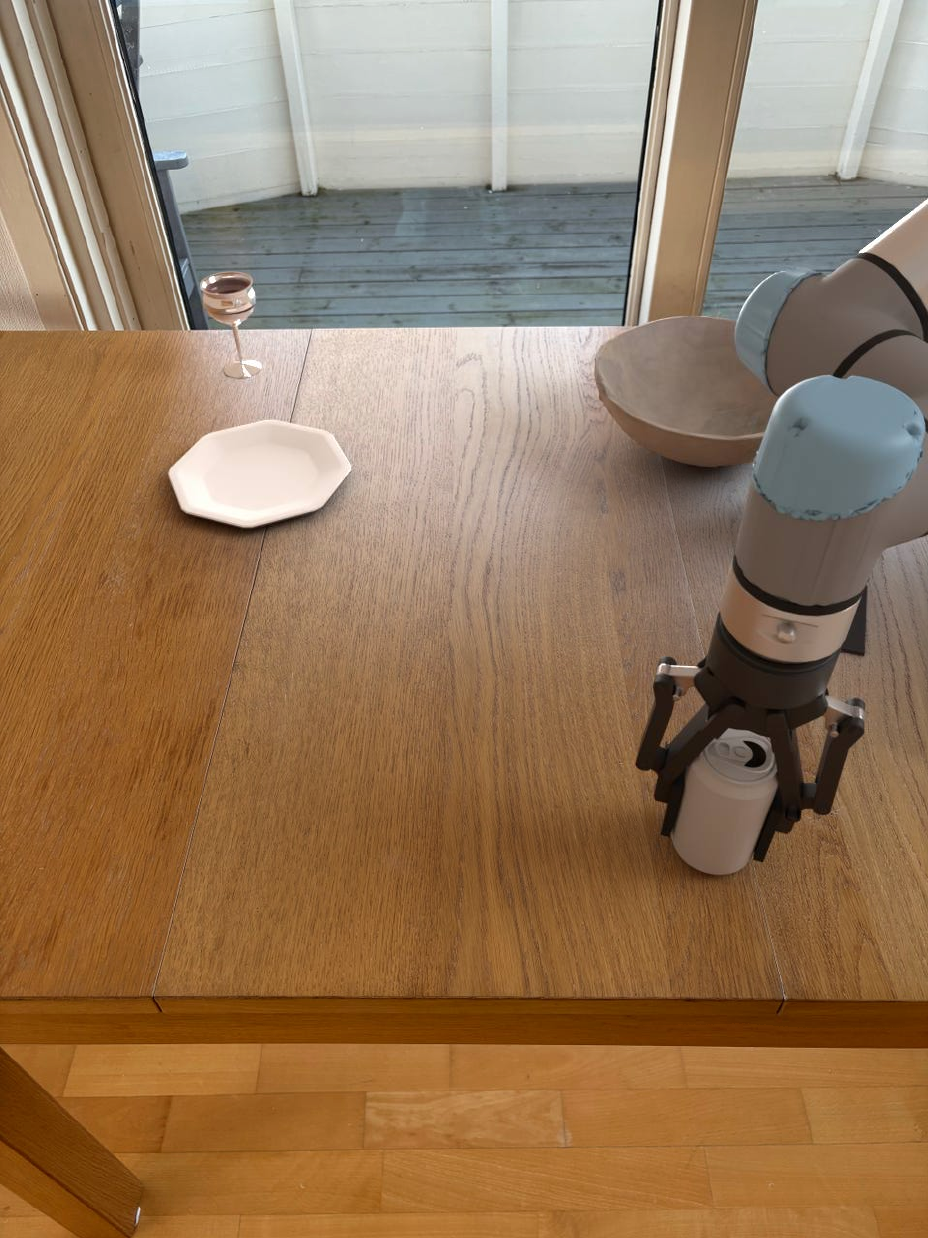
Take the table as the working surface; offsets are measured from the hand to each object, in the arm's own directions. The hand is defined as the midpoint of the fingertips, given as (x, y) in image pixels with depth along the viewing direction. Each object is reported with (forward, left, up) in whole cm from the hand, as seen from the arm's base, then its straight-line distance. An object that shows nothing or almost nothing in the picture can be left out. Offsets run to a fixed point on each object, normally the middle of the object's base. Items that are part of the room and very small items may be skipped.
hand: (713, 834), depth 74 cm
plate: (+56, -33, -2) cm, 65 cm away
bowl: (+9, -56, -2) cm, 57 cm away
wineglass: (+70, -55, -2) cm, 89 cm away
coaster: (-6, -30, -1) cm, 31 cm away
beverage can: (0, 0, -2) cm, 2 cm away
